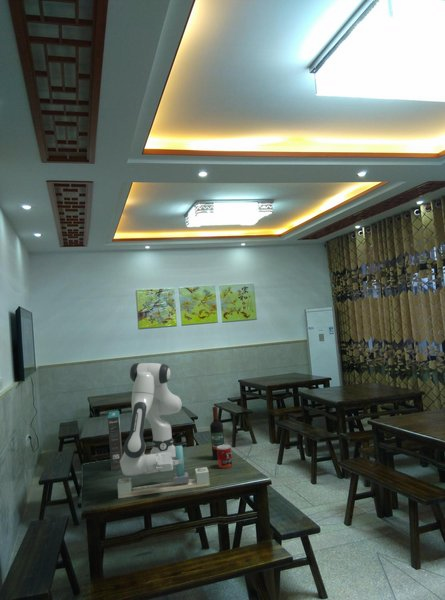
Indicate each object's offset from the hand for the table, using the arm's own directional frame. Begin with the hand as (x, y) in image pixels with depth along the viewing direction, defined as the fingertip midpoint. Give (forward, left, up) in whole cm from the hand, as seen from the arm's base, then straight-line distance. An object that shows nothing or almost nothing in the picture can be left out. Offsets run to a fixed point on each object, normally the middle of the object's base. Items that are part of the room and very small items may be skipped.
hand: (181, 459), depth 225 cm
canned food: (-22, +25, -13) cm, 36 cm away
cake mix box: (-54, -36, -13) cm, 66 cm away
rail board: (0, -9, -13) cm, 16 cm away
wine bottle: (-39, +24, -13) cm, 47 cm away
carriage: (0, -1, -11) cm, 11 cm away
